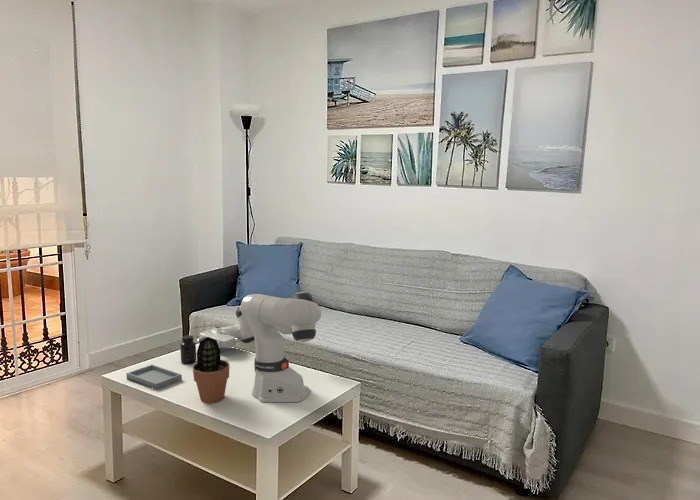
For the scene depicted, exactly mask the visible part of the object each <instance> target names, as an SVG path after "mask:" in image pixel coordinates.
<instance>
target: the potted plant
mask: <svg viewBox="0 0 700 500" xmlns="http://www.w3.org/2000/svg"><path fill="white" fill-rule="evenodd" d="M192 375H193V381H194V382H195V383H196V387H197V391H198V394H199V395H198V396H199V399H200V401H201V402H202V403H207V404H212V403H214V404H215V403H218V402H221V401H222V400H224V398H225V395H226V389H227V388H226V387H227V383H228V379H229V378H230V362H228V361H226V360H223V359H221V347H220V346H219V345H218V343H217V341H216V340H214V339H212V338H210V337H207V338H205V339H203V340H201V342H200V343H198V347H197V349H196V363H194V365H193V366H192Z"/></svg>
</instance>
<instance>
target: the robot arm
mask: <svg viewBox="0 0 700 500" xmlns="http://www.w3.org/2000/svg"><path fill="white" fill-rule="evenodd" d="M235 316H236V319H237V323H235V324H233V325H227V326H214V327H212V328H210V329H206V330H204V331H202V332H199V334H198V338H197V339H196V342H195V343H196V344H200V342H201V340H203V339H205V338H207V337H210V338H212V339H214V340H216V341H217V343H218V345H219V348H223V349H228V348H230V347H233V346H235V345H236V343H239V342H242V343H244V344H249V343H252V342H254V347H255V348H254V349H255V351H254V352H255V358H254V363H253V365H254V373H255V375H254V383H253V388H252V392H251V394H252V396H254V398H257V399H258V401H259V402H260V403H261V402H262V403H299V402H302V401H304V400H306V398H307V397H308V396H309V394H310V393H311V392H310V388H309V386H308V385H305V383H304V379H303V376H302V374H300V373H299V372H297V371H296V370H294V369H293V368H292V367H290V362H291V359H290V358H288V359H287V358H286V356H285V342H284V341H285V339H284V338H283V337H284V336H283V335H291V336H292V338H293V339H294V340H295V341H296V342H299V343H300V342H301V343H307V342H310V341H312V340H314V339H315V337H316V335H317V329H316V324H317V323H318V322H319V321H320V319H321V317H322V309H321V307H320V306H319V305H318V303H316V302H314V298H313V296H312V294H310V293H308V292H305V291H300V292H296V293H294V294H292V295H291V296H290V297H288V298H284V297H279V296H272V295H269V294H268V295H266V294H262V293H251V294H247V295H245V297H244V298H243V299H242V301H241V302H240V305H239V306H238V307H237V309H236V311H235Z"/></svg>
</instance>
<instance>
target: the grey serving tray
mask: <svg viewBox="0 0 700 500" xmlns="http://www.w3.org/2000/svg"><path fill="white" fill-rule="evenodd" d="M182 378H183V377H182V374H181V373H178V372H175V371H173V370H169V369H167V368H164V367H160V366H158V365H154V364H149V365H146V366H143V367H141V368H138V369H134V370H132V371H129V372H126V379H127V380H128V381H132V382H133V383H136V382H137V383H136V384H139V385H142V386H144V387H148V388H150V389H152V388H153V390H154V391H155V390H156V391H157V389H158V390H160V389H162V388H165V387H167V386H170V385H172V384H175V383H178V382H182V380H183V379H182Z"/></svg>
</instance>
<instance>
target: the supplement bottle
mask: <svg viewBox="0 0 700 500" xmlns="http://www.w3.org/2000/svg"><path fill="white" fill-rule="evenodd" d="M179 348H180V362H181V364H183V365H193V364H196V363H197V342H195V341H194V336H193V335H192V334H191V335H188V334H187V335H184V336H182V337H181V343H180V345H179Z"/></svg>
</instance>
